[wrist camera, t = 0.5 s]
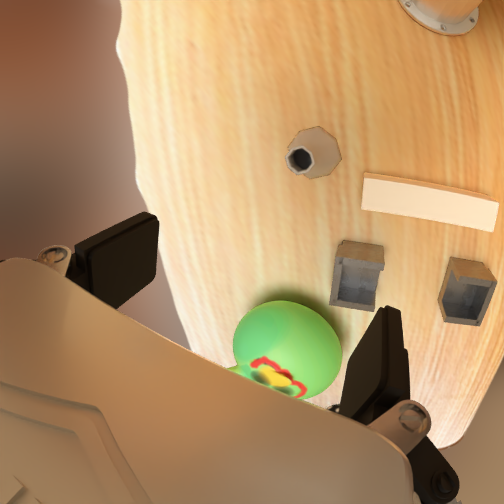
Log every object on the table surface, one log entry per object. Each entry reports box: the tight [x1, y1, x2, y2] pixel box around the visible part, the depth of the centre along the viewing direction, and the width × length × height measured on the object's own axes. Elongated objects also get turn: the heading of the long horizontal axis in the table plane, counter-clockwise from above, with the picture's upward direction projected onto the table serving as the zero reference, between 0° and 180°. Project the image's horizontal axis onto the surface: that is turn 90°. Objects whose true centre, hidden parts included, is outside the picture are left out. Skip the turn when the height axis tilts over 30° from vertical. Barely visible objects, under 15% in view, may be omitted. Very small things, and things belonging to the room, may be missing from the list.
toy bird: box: [227, 301, 342, 400], centre depth 45 cm, size 18×17×15 cm
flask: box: [285, 126, 342, 179], centre depth 35 cm, size 7×7×10 cm
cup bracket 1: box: [329, 240, 385, 312], centre depth 40 cm, size 8×6×6 cm
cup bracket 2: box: [438, 257, 497, 326], centre depth 35 cm, size 8×6×6 cm
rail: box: [361, 172, 499, 232], centre depth 33 cm, size 4×19×5 cm, turn 90°
